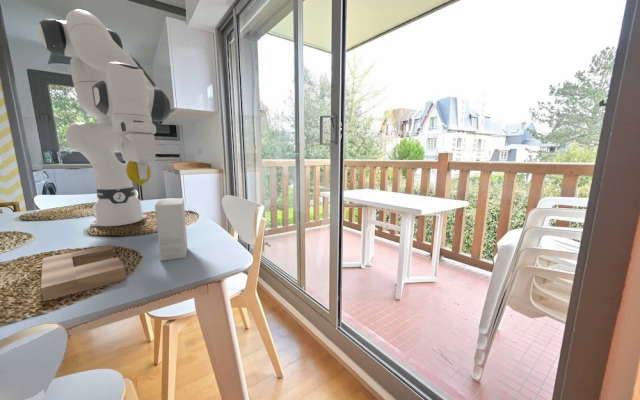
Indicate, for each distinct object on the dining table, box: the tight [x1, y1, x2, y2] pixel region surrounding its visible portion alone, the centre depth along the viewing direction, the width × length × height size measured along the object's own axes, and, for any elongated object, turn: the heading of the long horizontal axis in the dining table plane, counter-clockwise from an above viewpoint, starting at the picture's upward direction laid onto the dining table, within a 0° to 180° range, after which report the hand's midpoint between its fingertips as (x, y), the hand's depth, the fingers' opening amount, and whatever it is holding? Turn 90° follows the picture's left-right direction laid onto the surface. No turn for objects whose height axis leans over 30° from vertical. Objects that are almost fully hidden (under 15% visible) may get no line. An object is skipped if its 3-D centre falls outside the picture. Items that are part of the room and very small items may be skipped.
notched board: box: [40, 244, 127, 302], centre depth 61 cm, size 20×13×3 cm, turn 46°
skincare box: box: [154, 197, 188, 262], centre depth 72 cm, size 8×7×16 cm
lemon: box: [126, 161, 152, 187], centre depth 72 cm, size 6×6×8 cm
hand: (139, 178), depth 72 cm, fingers closed on lemon, 5 cm apart
